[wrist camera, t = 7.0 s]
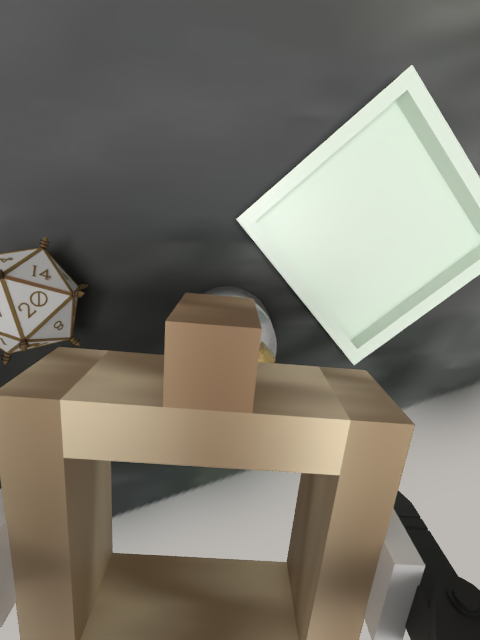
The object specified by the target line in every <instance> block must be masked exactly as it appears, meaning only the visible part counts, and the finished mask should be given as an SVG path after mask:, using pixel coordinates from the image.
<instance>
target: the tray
mask: <svg viewBox="0 0 480 640" xmlns="http://www.w3.org/2000/svg"><path fill="white" fill-rule="evenodd" d="M236 220H237V221H238V222H239V224H240V225H241V226H242V227H243V229H244V230H245V231H246V232H247V234H248V235H249V236H250V237H251V238H252V240H253V241H254V242H255V243H256V245H257V246H258V247H259V248H260V250H261V251H262V252H263V253H264V255H265V256H266V257H267V258H268V260H269V261H270V262H271V263H272V264H273V266H274V267H275V268H276V269H277V271H278V272H279V273H280V274H281V276H282V277H283V278H284V279H285V281H286V282H287V283H288V284H289V286H290V287H291V288H292V289H293V291H294V292H295V293H296V294H297V295H298V297H299V298H300V299H301V300H302V302H303V303H304V304H305V305H306V307H307V308H308V309H309V310H310V312H311V313H312V314H313V315H314V317H315V318H316V319H317V320H318V321H319V323H320V324H321V325H322V326H323V328H324V329H325V330H326V331H327V333H328V334H329V335H330V336H331V338H332V339H333V340H334V341H335V343H336V344H337V345H338V346H339V348H340V349H341V350H342V351H343V352H344V354H345V355H346V356H347V357H348V359H349V360H350V361H351V362H352V363H353V365H355V364H356V363H358V362H359V361H361V360H362V359H363V358H365V357H366V356H368V355H369V354H370V353H372V352H373V351H374V350H376V349H377V348H379V347H380V346H381V345H383V344H384V343H385V342H387V341H388V340H390V339H391V338H392V337H394V336H395V335H396V334H398V333H399V332H401V331H402V330H403V329H405V328H406V327H408V326H409V325H410V324H412V323H413V322H414V321H416V320H417V319H419V318H420V317H421V316H423V315H424V314H425V313H427V312H428V311H430V310H431V309H432V308H434V307H435V306H436V305H438V304H439V303H441V302H442V301H443V300H445V299H446V298H448V297H449V296H450V295H452V294H453V293H454V292H456V291H457V290H459V289H460V288H461V287H463V286H464V285H465V284H467V283H468V282H470V281H471V280H472V279H474V278H475V277H477V276H478V275H479V274H480V178H479V176H478V174H477V173H476V171H475V169H474V168H473V166H472V164H471V162H470V161H469V159H468V157H467V156H466V154H465V152H464V151H463V149H462V147H461V146H460V144H459V142H458V141H457V139H456V137H455V136H454V134H453V132H452V131H451V129H450V127H449V126H448V124H447V122H446V121H445V119H444V117H443V116H442V114H441V112H440V111H439V109H438V107H437V106H436V104H435V102H434V101H433V99H432V97H431V95H430V94H429V92H428V90H427V89H426V87H425V85H424V84H423V82H422V80H421V79H420V77H419V75H418V74H417V72H416V70H415V69H414V67H413V65H411V66H410V67H409V68H408V69H407V70H406V71H404V72H403V73H402V74H401V75H400V76H399V77H398V78H396V79H395V80H394V81H393V82H392V83H391V84H390V85H388V86H387V87H386V88H385V89H384V90H383V91H382V92H381V93H379V94H378V95H377V96H376V97H375V98H374V99H373V100H371V101H370V102H369V103H368V104H367V105H366V106H365V107H363V108H362V109H361V110H360V111H359V112H358V113H357V114H355V115H354V116H353V117H352V118H351V119H350V120H349V121H347V122H346V123H345V124H344V125H343V126H342V127H341V128H339V129H338V130H337V131H336V132H335V133H334V134H333V135H332V136H330V137H329V138H328V139H327V140H326V141H325V142H324V143H322V144H321V145H320V146H319V147H318V148H317V149H316V150H314V151H313V152H312V153H311V154H310V155H309V156H308V157H306V158H305V159H304V160H303V161H302V162H301V163H300V164H298V165H297V166H296V167H295V168H294V169H293V170H292V171H291V172H289V173H288V174H287V175H286V176H285V177H284V178H283V179H281V180H280V181H279V182H278V183H277V184H276V185H275V186H273V187H272V188H271V189H270V190H269V191H268V192H267V193H265V194H264V195H263V196H262V197H261V198H260V199H259V200H257V201H256V202H255V203H254V204H253V205H252V206H251V207H249V208H248V209H247V210H246V211H245V212H244V213H243V214H242V215H240V216H239V217H238V218H237V219H236Z"/></svg>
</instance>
